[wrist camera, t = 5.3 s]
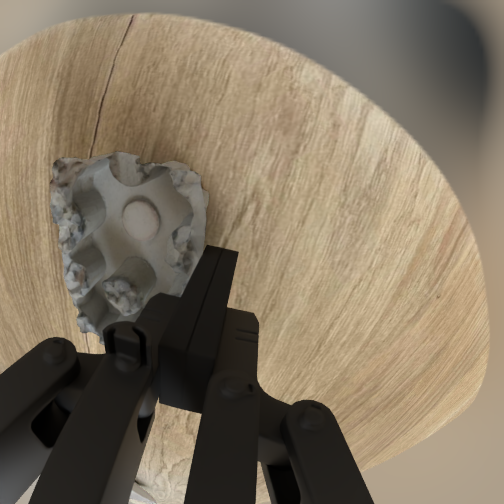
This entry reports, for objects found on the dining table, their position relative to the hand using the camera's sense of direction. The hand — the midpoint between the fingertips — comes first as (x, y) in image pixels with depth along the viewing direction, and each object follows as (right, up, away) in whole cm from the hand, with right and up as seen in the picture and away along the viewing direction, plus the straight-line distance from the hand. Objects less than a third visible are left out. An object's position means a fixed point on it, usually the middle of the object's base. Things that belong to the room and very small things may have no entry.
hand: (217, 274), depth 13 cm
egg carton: (-4, +1, +2) cm, 5 cm away
